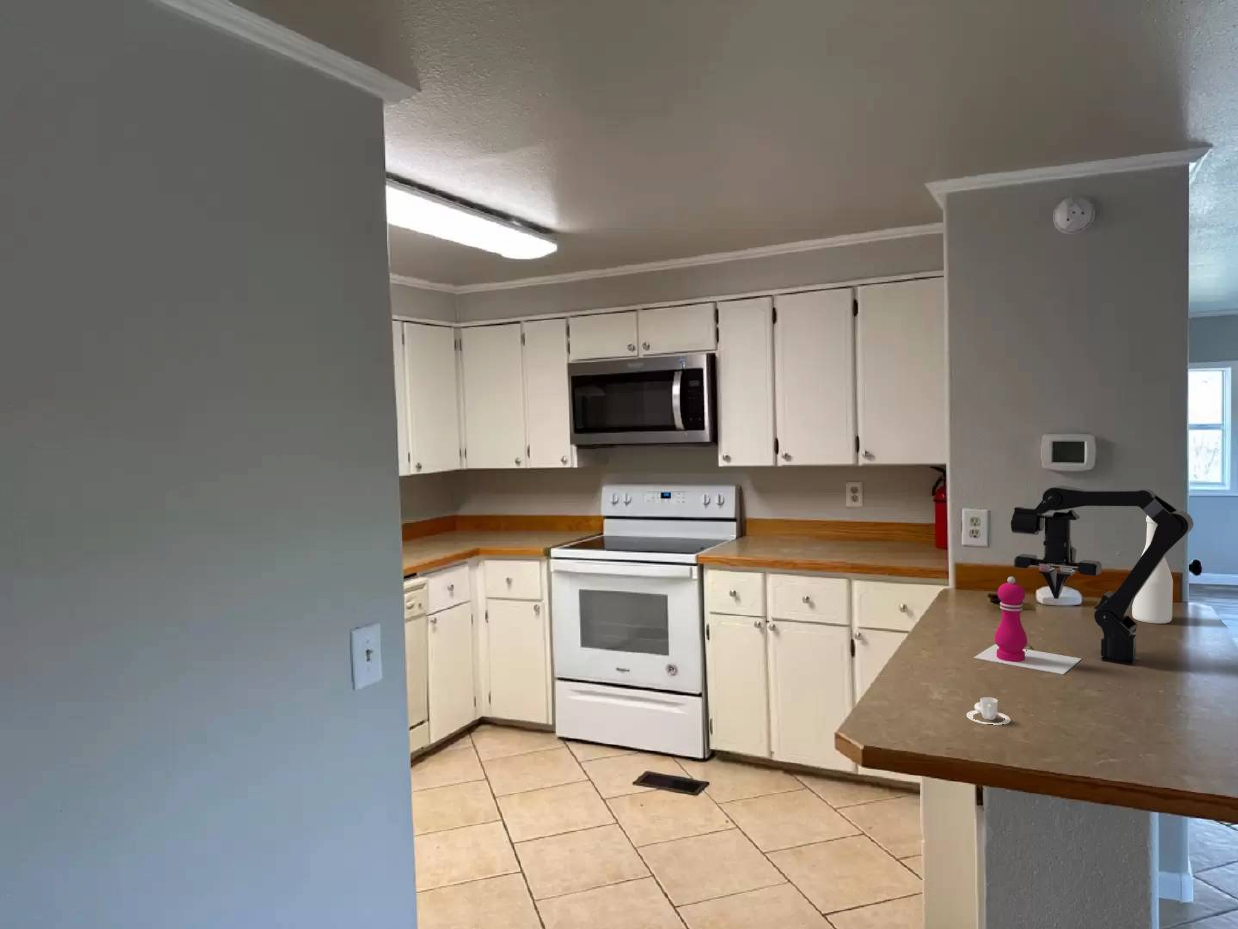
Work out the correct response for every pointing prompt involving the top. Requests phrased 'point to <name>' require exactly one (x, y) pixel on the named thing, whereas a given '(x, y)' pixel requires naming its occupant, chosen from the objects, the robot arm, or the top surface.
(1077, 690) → the top surface
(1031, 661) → the rubber mat
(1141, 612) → the wine bottle
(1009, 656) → the pepper mill
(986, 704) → the teacup and saucer
